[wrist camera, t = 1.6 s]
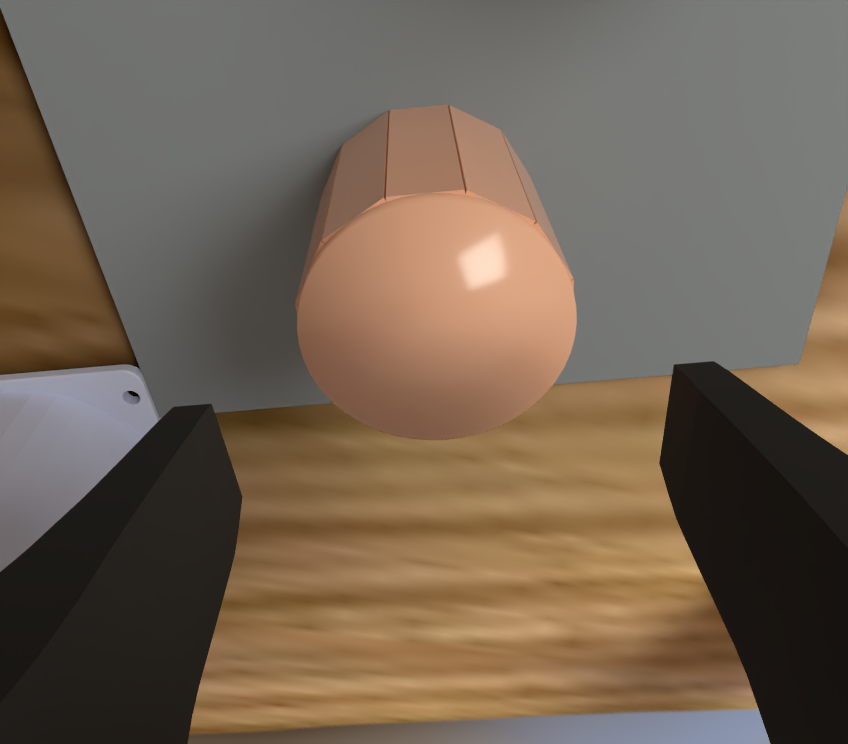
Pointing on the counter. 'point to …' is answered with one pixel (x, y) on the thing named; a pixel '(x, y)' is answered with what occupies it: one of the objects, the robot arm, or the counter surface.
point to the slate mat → (477, 96)
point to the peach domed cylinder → (433, 280)
